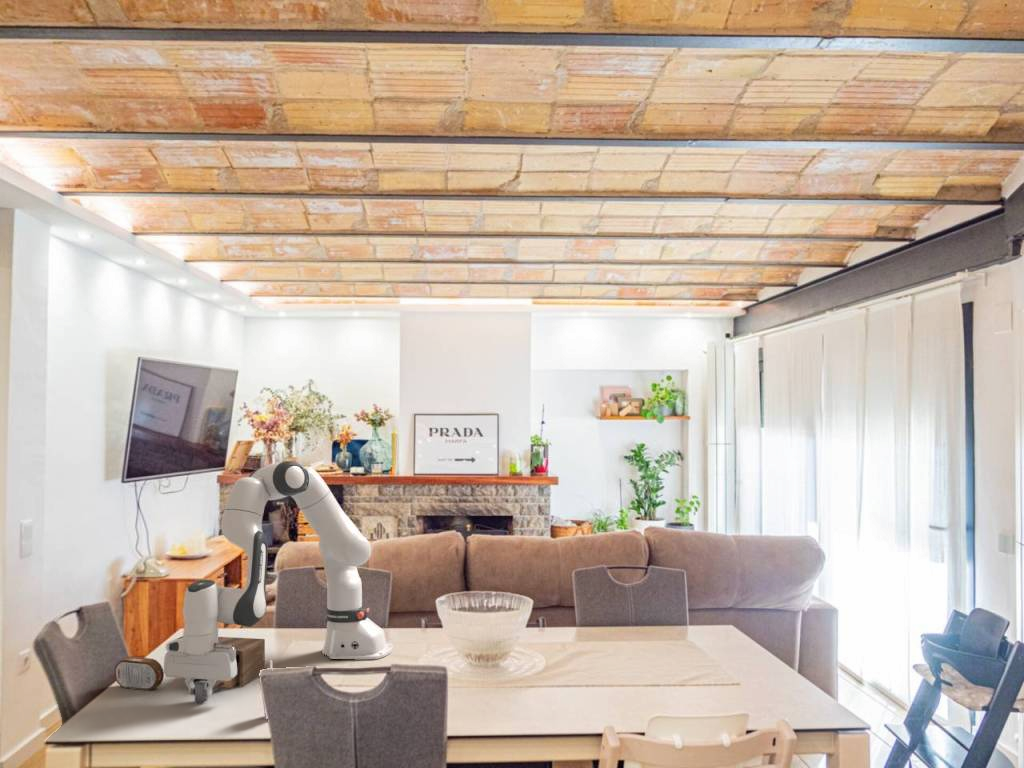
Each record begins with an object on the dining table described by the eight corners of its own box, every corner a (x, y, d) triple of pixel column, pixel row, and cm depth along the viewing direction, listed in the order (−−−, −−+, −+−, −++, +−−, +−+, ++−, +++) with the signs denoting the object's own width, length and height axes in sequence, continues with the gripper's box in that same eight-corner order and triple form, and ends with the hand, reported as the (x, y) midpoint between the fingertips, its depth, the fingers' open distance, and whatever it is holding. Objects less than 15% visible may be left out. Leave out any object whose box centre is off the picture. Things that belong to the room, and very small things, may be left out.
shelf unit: (264, 672, 232) (264, 639, 233) (242, 686, 221) (242, 650, 221) (210, 669, 236) (210, 636, 237) (185, 683, 224) (185, 647, 225)
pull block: (241, 680, 226) (241, 662, 226) (206, 703, 208) (206, 684, 208) (225, 679, 227) (225, 662, 227) (189, 702, 209) (189, 683, 209)
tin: (164, 688, 220) (164, 658, 221) (156, 692, 217) (156, 661, 218) (120, 684, 224) (120, 654, 225) (112, 688, 221) (112, 658, 222)
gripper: (242, 641, 211) (241, 693, 210) (175, 637, 215) (174, 688, 215) (228, 648, 205) (228, 701, 204) (160, 644, 209) (159, 696, 209)
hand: (200, 694), depth 210 cm, fingers closed on pull block, 3 cm apart
